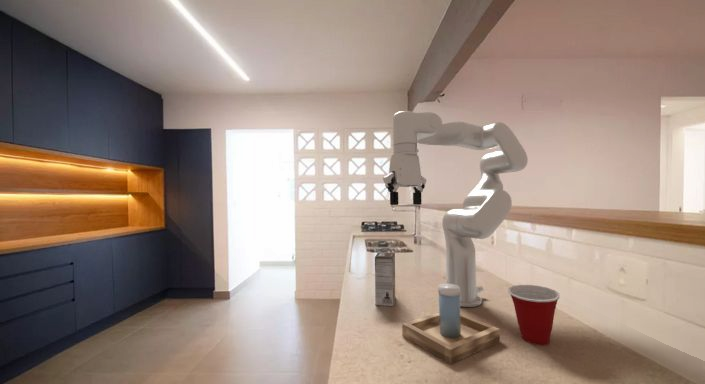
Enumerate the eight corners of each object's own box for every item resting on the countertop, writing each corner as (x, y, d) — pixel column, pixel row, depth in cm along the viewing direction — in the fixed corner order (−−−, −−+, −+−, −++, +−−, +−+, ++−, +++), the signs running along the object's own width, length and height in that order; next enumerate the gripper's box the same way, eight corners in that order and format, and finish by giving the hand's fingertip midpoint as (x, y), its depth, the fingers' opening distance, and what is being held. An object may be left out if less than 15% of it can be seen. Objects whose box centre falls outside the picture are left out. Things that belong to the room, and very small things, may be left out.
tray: (449, 319, 81) (449, 309, 81) (499, 341, 68) (499, 328, 68) (402, 335, 71) (402, 323, 71) (450, 364, 58) (450, 349, 58)
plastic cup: (499, 334, 72) (498, 286, 72) (528, 326, 76) (526, 282, 76) (541, 355, 61) (539, 300, 62) (572, 345, 65) (570, 294, 66)
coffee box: (377, 296, 101) (377, 251, 102) (395, 297, 100) (395, 252, 101) (374, 305, 92) (374, 256, 93) (394, 306, 91) (393, 257, 92)
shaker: (448, 327, 73) (447, 282, 74) (465, 334, 69) (464, 287, 69) (434, 332, 70) (433, 285, 71) (451, 340, 66) (450, 291, 66)
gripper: (416, 155, 96) (417, 204, 96) (376, 150, 87) (377, 205, 87) (433, 151, 90) (434, 204, 89) (391, 146, 81) (392, 205, 80)
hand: (406, 204), depth 88 cm, fingers open, 9 cm apart
